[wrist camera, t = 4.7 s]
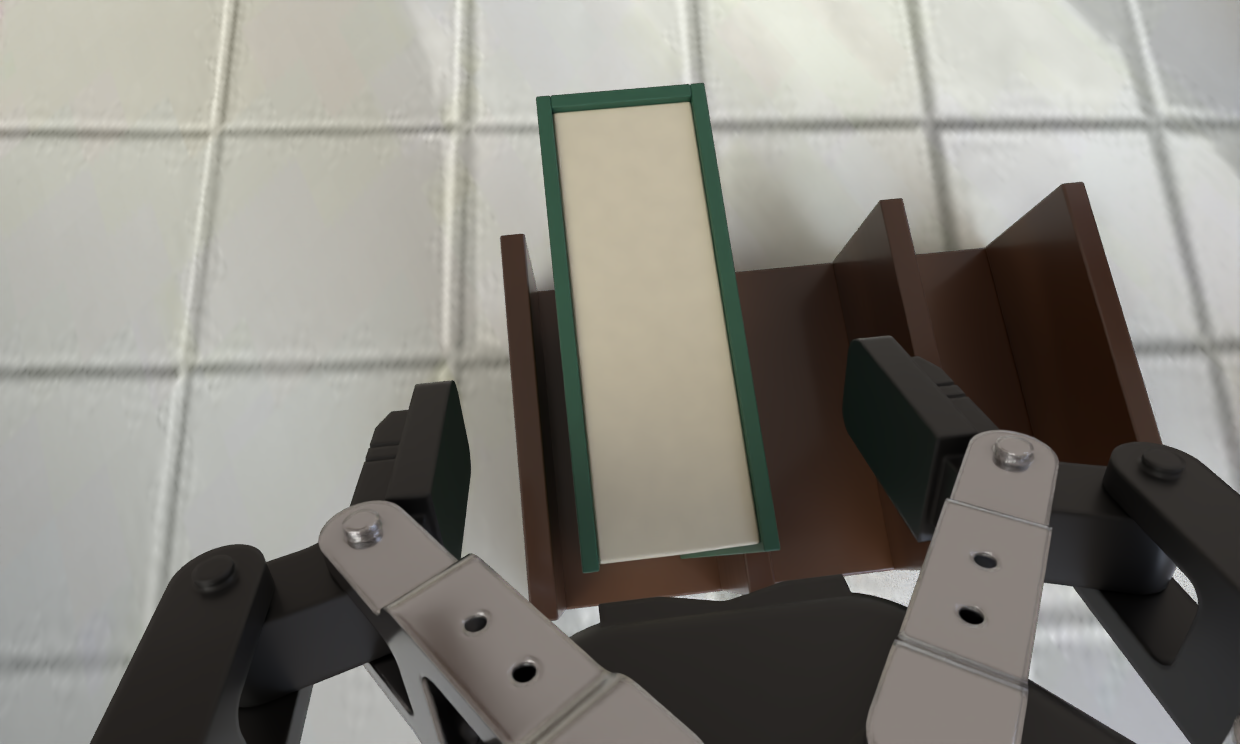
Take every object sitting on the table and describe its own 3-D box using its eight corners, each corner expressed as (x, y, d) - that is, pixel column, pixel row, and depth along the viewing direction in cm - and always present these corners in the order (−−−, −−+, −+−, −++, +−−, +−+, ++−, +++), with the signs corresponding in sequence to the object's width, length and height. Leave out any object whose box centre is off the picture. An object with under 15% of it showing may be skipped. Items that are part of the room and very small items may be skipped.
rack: (992, 253, 31) (1084, 180, 25) (1069, 548, 28) (1193, 542, 22) (519, 299, 30) (499, 234, 24) (545, 610, 27) (530, 623, 21)
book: (655, 309, 29) (704, 81, 15) (688, 557, 26) (780, 550, 13) (566, 317, 29) (535, 95, 15) (591, 569, 26) (582, 573, 13)
